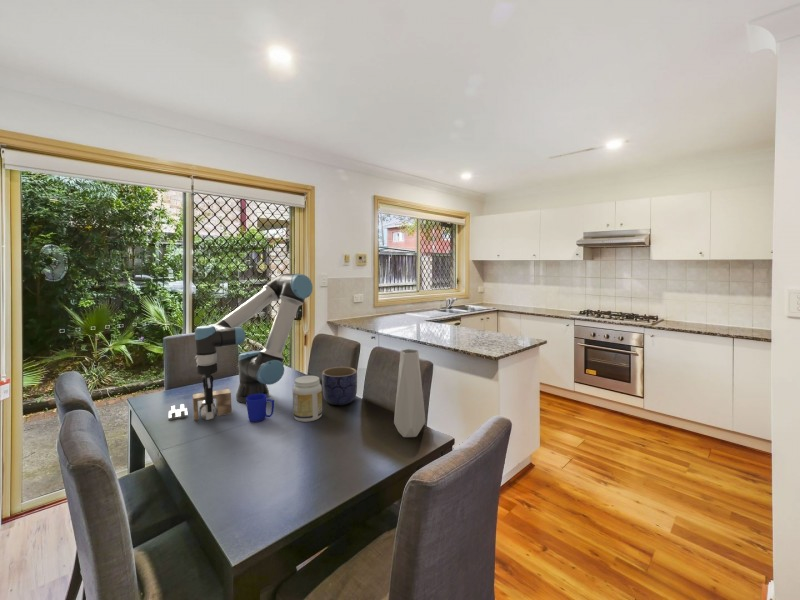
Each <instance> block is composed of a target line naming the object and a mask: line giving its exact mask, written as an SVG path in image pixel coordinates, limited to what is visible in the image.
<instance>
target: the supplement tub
mask: <svg viewBox="0 0 800 600" xmlns="http://www.w3.org/2000/svg"><path fill="white" fill-rule="evenodd" d="M292 406H293V407H292V410H293V414H292V415H293V418H294V420H296V422H297V421H298V422H301V423H302V422H303V423H305V422H307V423H308V422H313V421H317V420H318V419H320V418H321V417H322V415H323V387H322V384H321V381H320V377H319V376H316V375H302V376H298V377H296V378H295V379H294V385H293V388H292Z"/></svg>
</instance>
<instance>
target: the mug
mask: <svg viewBox="0 0 800 600" xmlns="http://www.w3.org/2000/svg"><path fill="white" fill-rule="evenodd" d="M267 402H270V403H271V410H270V413H269V415H268V414H267ZM245 404H246V408H247V409H246V410H247V418H248V421H250V422H252V423H257V422H261V421H264V420H265V418H270V417H272V416H273V414H274V410H275V409H274V408H275V399H272V398H271V399H270V398H267V395H265V394H253V395H249V396H247V397H246V403H245Z"/></svg>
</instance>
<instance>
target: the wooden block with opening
mask: <svg viewBox="0 0 800 600" xmlns="http://www.w3.org/2000/svg"><path fill="white" fill-rule="evenodd" d="M204 398H205V396H204V392H200V393H194V394H192V410H193V411H192V413H193V419H194V421H198V420H199V401H203V400H205V399H204ZM213 400H215V407H216V410H217V413H216V415H217V416H218V417H219V416H225V415H231V414H232V413H233V412H232V392H231V390H230V388H225V389H219V390H218V389H217V390H213Z"/></svg>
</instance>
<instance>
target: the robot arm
mask: <svg viewBox="0 0 800 600" xmlns="http://www.w3.org/2000/svg"><path fill="white" fill-rule="evenodd" d="M313 287H314V286H313V283H312V281H311V279H310V277H309V276H307V275H306V274H301V273H282V274H280V275H277V276H276V277H274V278H273V279H271V280H270V281H268V282H267V283H266V284H264V285H263V287H262V289H261V290H260V291H258V292H257V293H256V294H255V295H253V296H252V297H250V298H249V299H248V300H246V301H245V302H244V303H242V304H241V305H239V306H238V307H237V308H235V309H234V310H233V311H231V312H230V313H229V314H227V315H226V316H224V317H223V318H222V319H220V320H219V321H217V322H216V323H211V324H209V325H200V326H197V327H196V328H195V330H194V344H195V345H194V346H195V357H194V360H196V364H197V365H196V373H197V375H199V376H202V377H201V381H202V387H203V393H204V396H205V398H204V399H205V403H204V405H205V411H206V419H205V420H206V421H207V419H209V420H212V419H214V418H213V402H214V403H215V399H213V391H214V389H213V388H214V377H213V375H212V374H215V373H217V372H218V364H217V361H218V356H217V352H218V351H217V348H223V347H230V346H237V345H241V344H243V343H245V339H246V332H245V330H244V328H243V327H242V325H244V324H245V323H246V322H248V321H249V320H250V319H251V318H253V317H254V316H255V315H257V314H258V313H259V312H261V311H262V310H263V309H264V308H266V307H267V306H268V305H270V304H271V303H273V302H277V301H278V300H280V303H279V306H278V310H277V312H276V315H275V318H274V320H273V323H272V326H271V329H270V331H269V334H268V337H267V339H266V341H265V345H264V348H263V349H260V350H250V351H244V352H242V353H239V355H238V361H237V362H238V374H239V375H238V376H239V377H238V378H239V384H238V386H237V392H236V394H235V399H236V402H239V403H245V404H247V403H246V397H247V396H249V395H253V394H265V395H267V399H269V397H270V392H269V391H270V390H269V388H268V385H269V386H270V385H274V384H276V383H277V382H279V381H280V380H281V379H282V378H283V376H284V373H285V367H284V364H283V362H284V359H285V357H284V355H283V353H284V350H285V347H286V344H287V341H288V338H289V335H290V333H291V330H292V327H293V323H294V320H295V318H296V316H297V313H298V310H299V307H300V306H302V305H303V304H304V302H305V300H306V299H307V298H310V296H311V295H312V294H313Z"/></svg>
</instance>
